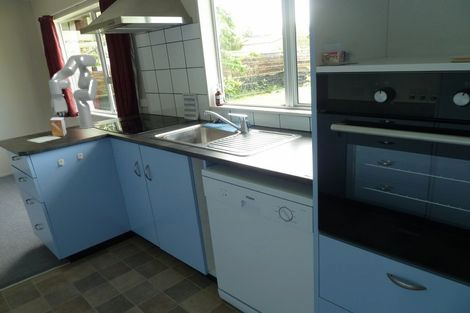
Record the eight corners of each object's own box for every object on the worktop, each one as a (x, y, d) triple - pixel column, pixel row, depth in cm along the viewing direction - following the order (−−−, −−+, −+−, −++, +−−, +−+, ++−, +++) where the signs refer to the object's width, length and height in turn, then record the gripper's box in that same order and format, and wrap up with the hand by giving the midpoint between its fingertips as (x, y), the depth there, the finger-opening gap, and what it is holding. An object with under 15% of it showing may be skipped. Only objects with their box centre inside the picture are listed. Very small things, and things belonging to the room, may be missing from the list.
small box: (52, 136, 252) (49, 119, 246) (55, 133, 258) (52, 117, 252) (64, 136, 253) (61, 119, 247) (66, 133, 259) (63, 117, 253)
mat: (49, 136, 258) (49, 135, 258) (60, 137, 247) (60, 137, 247) (27, 141, 246) (26, 140, 246) (38, 143, 235) (37, 142, 235)
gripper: (64, 95, 259) (69, 119, 264) (44, 97, 247) (50, 122, 252) (69, 95, 254) (74, 119, 259) (49, 97, 243) (55, 122, 248)
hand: (62, 120), depth 256 cm, fingers closed
